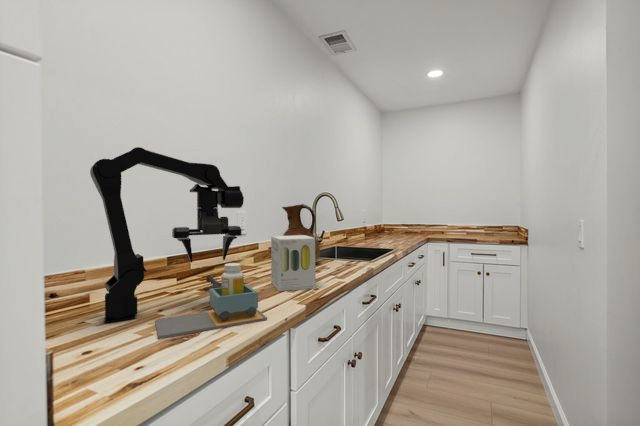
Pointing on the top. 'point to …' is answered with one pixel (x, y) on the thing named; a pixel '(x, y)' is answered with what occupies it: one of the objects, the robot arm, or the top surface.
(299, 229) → the ceramic pitcher
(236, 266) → the supplement bottle
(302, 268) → the supplement box
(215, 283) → the bracket
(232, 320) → the track
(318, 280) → the top surface
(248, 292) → the box
